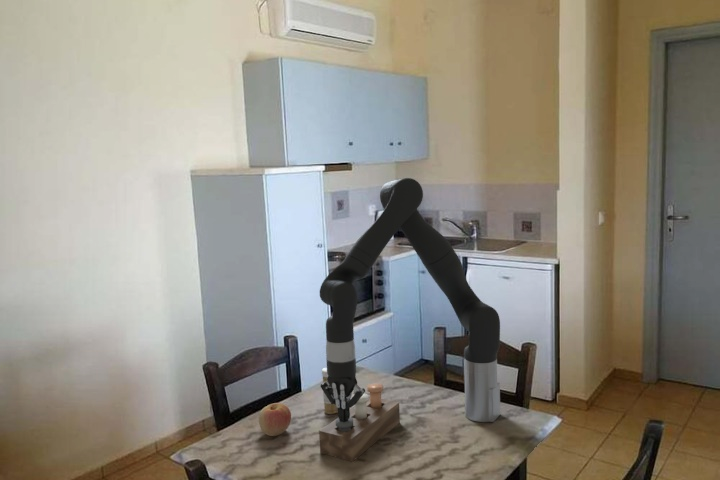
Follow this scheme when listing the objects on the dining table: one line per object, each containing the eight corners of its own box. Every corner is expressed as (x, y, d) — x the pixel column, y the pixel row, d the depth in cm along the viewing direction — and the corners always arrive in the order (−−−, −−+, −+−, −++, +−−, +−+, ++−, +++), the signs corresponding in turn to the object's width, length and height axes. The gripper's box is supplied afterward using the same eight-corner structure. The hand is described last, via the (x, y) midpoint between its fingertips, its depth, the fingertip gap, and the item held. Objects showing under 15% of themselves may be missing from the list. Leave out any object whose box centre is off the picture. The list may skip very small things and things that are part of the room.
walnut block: (399, 422, 170) (399, 402, 169) (352, 461, 149) (351, 438, 148) (369, 415, 175) (369, 396, 174) (320, 452, 154) (319, 430, 153)
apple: (297, 428, 169) (295, 401, 168) (280, 442, 161) (278, 414, 160) (271, 424, 173) (269, 397, 172) (253, 437, 165) (251, 410, 164)
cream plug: (372, 419, 162) (371, 394, 161) (364, 426, 158) (362, 401, 157) (358, 416, 165) (357, 392, 164) (349, 422, 161) (348, 398, 160)
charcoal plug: (357, 444, 156) (356, 419, 155) (348, 451, 152) (346, 425, 151) (343, 440, 158) (341, 415, 157) (333, 448, 155) (332, 422, 154)
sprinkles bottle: (333, 407, 183) (331, 365, 181) (342, 411, 179) (340, 368, 177) (321, 411, 180) (318, 368, 178) (330, 416, 176) (327, 372, 174)
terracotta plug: (387, 408, 169) (386, 384, 168) (379, 414, 165) (378, 390, 164) (373, 405, 171) (372, 382, 170) (365, 411, 167) (363, 387, 167)
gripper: (370, 355, 152) (373, 420, 154) (328, 348, 159) (331, 410, 161) (354, 364, 145) (357, 431, 148) (311, 357, 152) (314, 421, 155)
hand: (343, 420), depth 154 cm, fingers closed
